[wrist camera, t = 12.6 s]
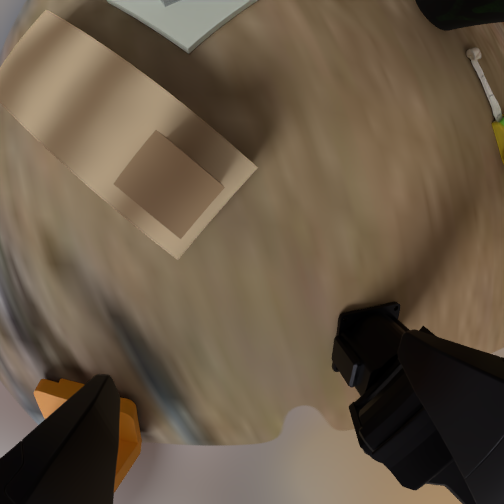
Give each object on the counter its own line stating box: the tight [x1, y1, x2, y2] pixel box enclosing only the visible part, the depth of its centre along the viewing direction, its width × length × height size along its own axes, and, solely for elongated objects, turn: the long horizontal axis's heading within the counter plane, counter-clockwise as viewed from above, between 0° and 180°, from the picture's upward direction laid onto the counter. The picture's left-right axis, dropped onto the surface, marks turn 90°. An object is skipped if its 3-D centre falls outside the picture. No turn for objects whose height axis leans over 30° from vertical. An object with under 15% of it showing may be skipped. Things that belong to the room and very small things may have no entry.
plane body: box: [0, 10, 257, 260], centre depth 12 cm, size 20×7×6 cm, turn 47°
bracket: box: [34, 378, 142, 492], centre depth 17 cm, size 11×7×12 cm
